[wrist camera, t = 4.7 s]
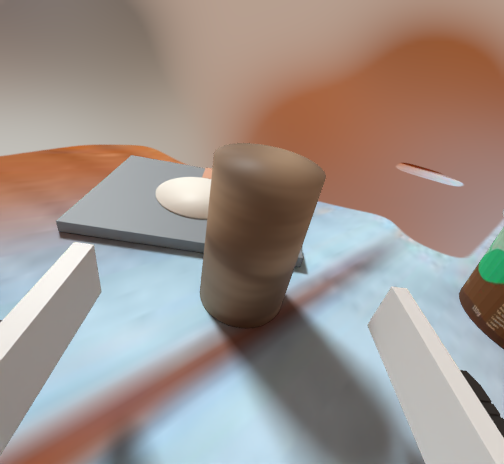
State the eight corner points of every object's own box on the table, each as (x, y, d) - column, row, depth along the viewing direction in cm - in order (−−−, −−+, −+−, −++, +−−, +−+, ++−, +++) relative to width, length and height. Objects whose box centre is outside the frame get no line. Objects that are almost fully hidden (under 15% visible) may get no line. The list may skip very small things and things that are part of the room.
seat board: (283, 189, 37) (285, 181, 37) (299, 266, 24) (304, 256, 23) (132, 162, 36) (131, 153, 35) (58, 231, 22) (55, 218, 22)
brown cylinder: (278, 270, 23) (313, 153, 18) (285, 332, 18) (338, 197, 13) (205, 260, 22) (219, 137, 17) (193, 322, 18) (206, 175, 12)
